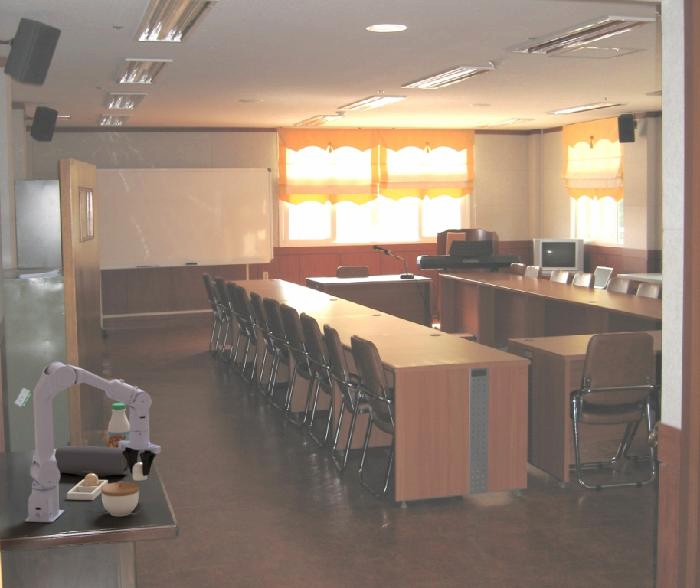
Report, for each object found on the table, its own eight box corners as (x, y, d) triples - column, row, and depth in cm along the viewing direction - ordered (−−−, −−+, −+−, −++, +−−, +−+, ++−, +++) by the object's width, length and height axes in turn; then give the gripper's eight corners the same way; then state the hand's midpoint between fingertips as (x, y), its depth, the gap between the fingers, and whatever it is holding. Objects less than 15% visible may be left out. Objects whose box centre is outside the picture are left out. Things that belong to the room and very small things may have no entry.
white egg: (144, 480, 291) (144, 464, 290) (130, 480, 291) (130, 464, 290) (148, 476, 295) (148, 460, 294) (135, 476, 295) (134, 460, 295)
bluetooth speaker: (131, 473, 321) (130, 444, 320) (121, 481, 312) (121, 451, 311) (64, 471, 324) (64, 441, 323) (53, 479, 314) (52, 448, 313)
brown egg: (95, 491, 300) (95, 475, 299) (82, 491, 300) (82, 475, 299) (100, 487, 304) (100, 471, 303) (87, 487, 304) (86, 471, 304)
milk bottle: (107, 458, 339) (106, 402, 337) (129, 457, 341) (129, 401, 339) (108, 464, 332) (107, 406, 330) (131, 462, 334) (131, 405, 332)
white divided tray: (93, 501, 291) (92, 493, 291) (67, 501, 292) (66, 492, 292) (107, 487, 305) (107, 480, 305) (83, 487, 306) (82, 479, 306)
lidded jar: (124, 504, 289) (123, 474, 288) (147, 512, 282) (146, 480, 281) (93, 513, 281) (93, 482, 280) (117, 521, 274) (116, 489, 273)
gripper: (167, 429, 292) (167, 473, 293) (129, 424, 298) (129, 467, 299) (152, 434, 285) (152, 479, 287) (113, 428, 292) (114, 472, 293)
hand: (139, 473), depth 293 cm, fingers closed on white egg, 4 cm apart
